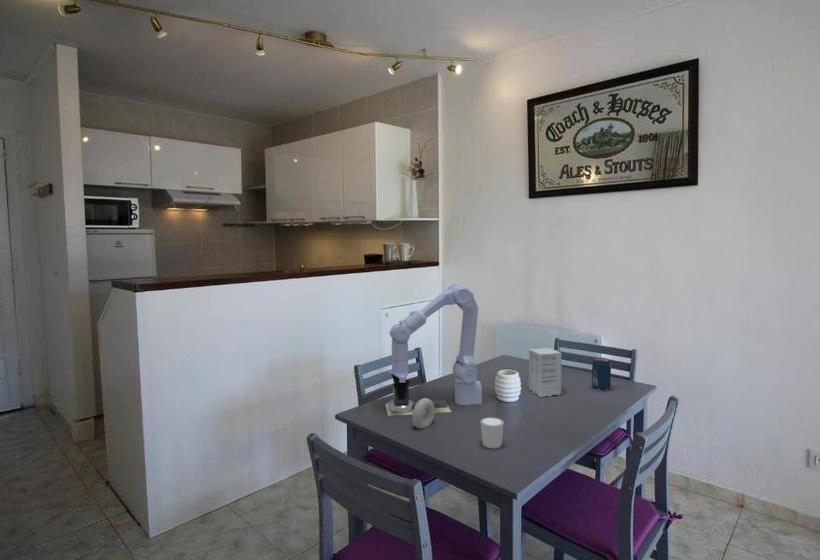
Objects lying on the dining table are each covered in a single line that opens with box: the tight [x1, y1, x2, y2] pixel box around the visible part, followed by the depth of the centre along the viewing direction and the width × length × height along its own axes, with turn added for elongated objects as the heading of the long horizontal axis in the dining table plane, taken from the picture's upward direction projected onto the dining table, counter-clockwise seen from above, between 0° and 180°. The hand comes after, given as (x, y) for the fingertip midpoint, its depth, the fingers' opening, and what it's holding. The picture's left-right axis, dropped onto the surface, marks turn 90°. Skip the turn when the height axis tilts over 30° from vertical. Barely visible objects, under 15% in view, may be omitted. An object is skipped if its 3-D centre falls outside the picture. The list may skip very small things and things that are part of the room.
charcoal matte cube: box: [392, 383, 410, 405], centre depth 168 cm, size 5×5×6 cm
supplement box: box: [528, 347, 563, 398], centre depth 186 cm, size 10×9×17 cm
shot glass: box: [480, 416, 505, 449], centre depth 141 cm, size 7×7×7 cm
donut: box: [411, 397, 436, 430], centre depth 153 cm, size 10×4×10 cm, turn 142°
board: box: [384, 402, 452, 417], centre depth 169 cm, size 22×12×1 cm, turn 97°
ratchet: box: [387, 399, 449, 413], centre depth 169 cm, size 21×9×4 cm, turn 97°
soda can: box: [591, 357, 612, 390], centre depth 190 cm, size 7×7×12 cm
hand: (400, 396), depth 168 cm, fingers open, 5 cm apart
